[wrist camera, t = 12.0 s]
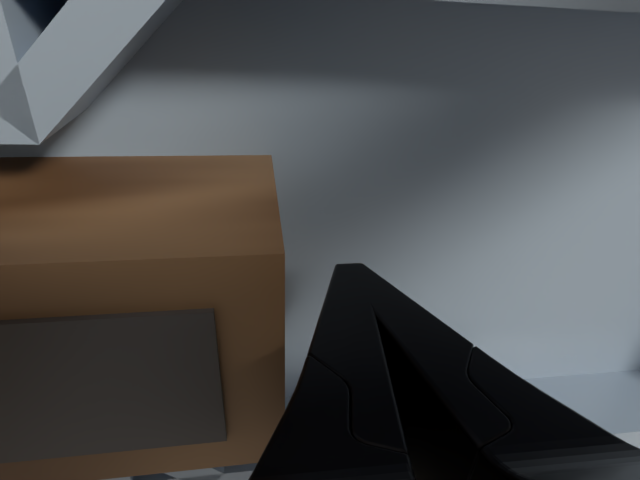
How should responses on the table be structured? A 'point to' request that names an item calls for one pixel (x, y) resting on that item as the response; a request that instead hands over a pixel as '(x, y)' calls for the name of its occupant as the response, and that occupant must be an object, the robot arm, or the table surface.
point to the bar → (138, 314)
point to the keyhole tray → (385, 155)
